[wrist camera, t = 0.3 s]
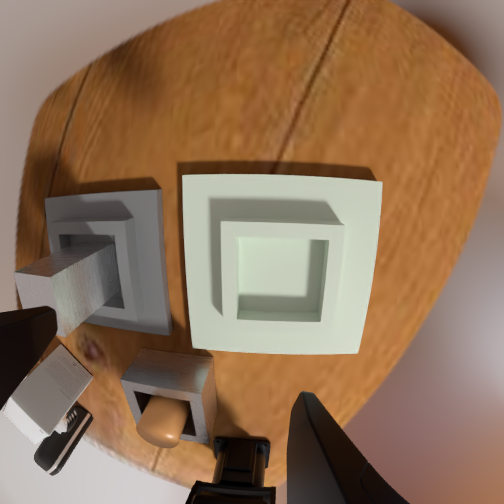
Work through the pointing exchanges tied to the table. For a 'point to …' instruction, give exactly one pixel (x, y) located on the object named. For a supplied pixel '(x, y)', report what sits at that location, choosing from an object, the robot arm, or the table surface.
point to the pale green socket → (279, 261)
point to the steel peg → (71, 282)
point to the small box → (47, 395)
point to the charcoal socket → (120, 252)
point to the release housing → (174, 387)
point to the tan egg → (163, 421)
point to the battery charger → (62, 442)
